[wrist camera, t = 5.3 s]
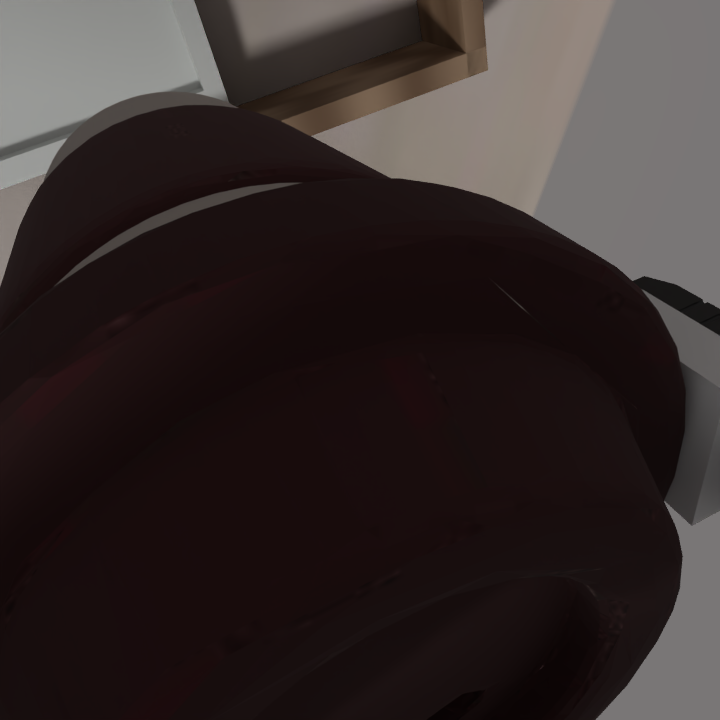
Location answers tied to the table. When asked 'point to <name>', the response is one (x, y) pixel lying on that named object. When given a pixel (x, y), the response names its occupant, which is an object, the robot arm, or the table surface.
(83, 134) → the coffee cup
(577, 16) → the table surface
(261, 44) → the table surface
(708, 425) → the robot arm
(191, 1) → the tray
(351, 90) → the brown wooden frame
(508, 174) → the table surface
